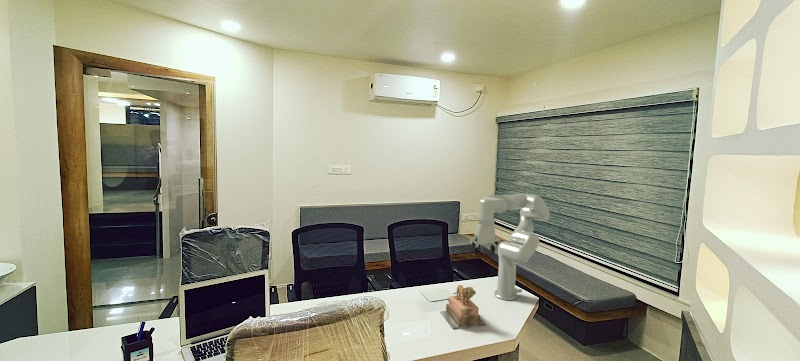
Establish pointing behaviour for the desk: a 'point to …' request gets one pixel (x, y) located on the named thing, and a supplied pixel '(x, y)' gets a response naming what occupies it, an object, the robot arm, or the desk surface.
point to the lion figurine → (465, 293)
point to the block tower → (462, 313)
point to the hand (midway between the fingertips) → (484, 253)
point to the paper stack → (437, 294)
